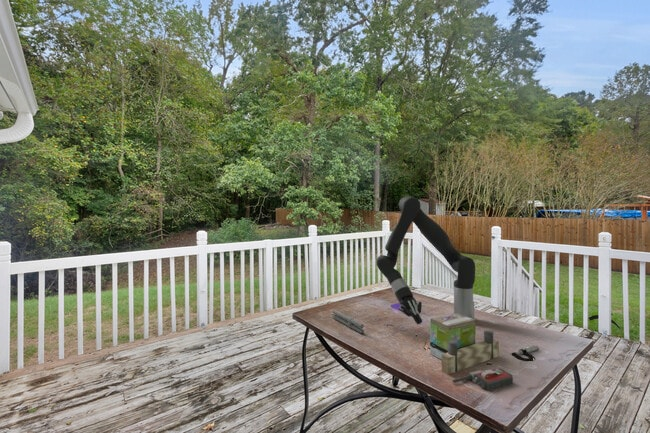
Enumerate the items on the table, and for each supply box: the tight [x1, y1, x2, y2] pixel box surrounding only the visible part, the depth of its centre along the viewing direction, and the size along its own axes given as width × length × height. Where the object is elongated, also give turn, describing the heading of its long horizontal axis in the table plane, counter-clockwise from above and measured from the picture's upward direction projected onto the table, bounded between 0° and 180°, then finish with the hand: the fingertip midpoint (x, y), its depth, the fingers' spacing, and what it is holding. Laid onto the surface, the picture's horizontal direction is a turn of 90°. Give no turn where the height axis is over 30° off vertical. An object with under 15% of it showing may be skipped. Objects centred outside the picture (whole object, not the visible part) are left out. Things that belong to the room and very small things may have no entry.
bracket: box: [390, 302, 401, 312], centre depth 188 cm, size 12×7×7 cm, turn 26°
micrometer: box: [511, 345, 540, 362], centre depth 128 cm, size 15×7×3 cm, turn 113°
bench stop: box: [441, 329, 500, 375], centre depth 122 cm, size 28×3×10 cm, turn 118°
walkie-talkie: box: [452, 368, 514, 392], centre depth 108 cm, size 9×4×20 cm
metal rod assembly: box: [332, 309, 365, 334], centre depth 163 cm, size 26×3×5 cm, turn 30°
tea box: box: [429, 312, 477, 361], centre depth 129 cm, size 15×10×15 cm, turn 117°
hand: (420, 323), depth 145 cm, fingers closed
